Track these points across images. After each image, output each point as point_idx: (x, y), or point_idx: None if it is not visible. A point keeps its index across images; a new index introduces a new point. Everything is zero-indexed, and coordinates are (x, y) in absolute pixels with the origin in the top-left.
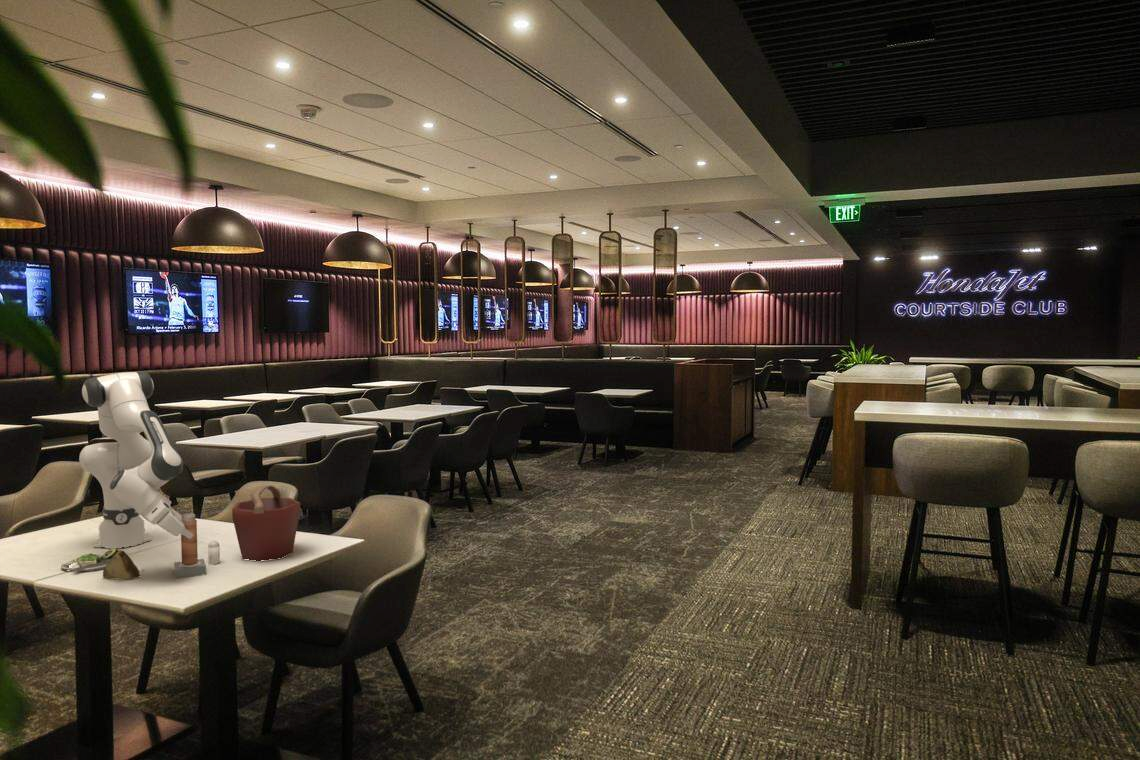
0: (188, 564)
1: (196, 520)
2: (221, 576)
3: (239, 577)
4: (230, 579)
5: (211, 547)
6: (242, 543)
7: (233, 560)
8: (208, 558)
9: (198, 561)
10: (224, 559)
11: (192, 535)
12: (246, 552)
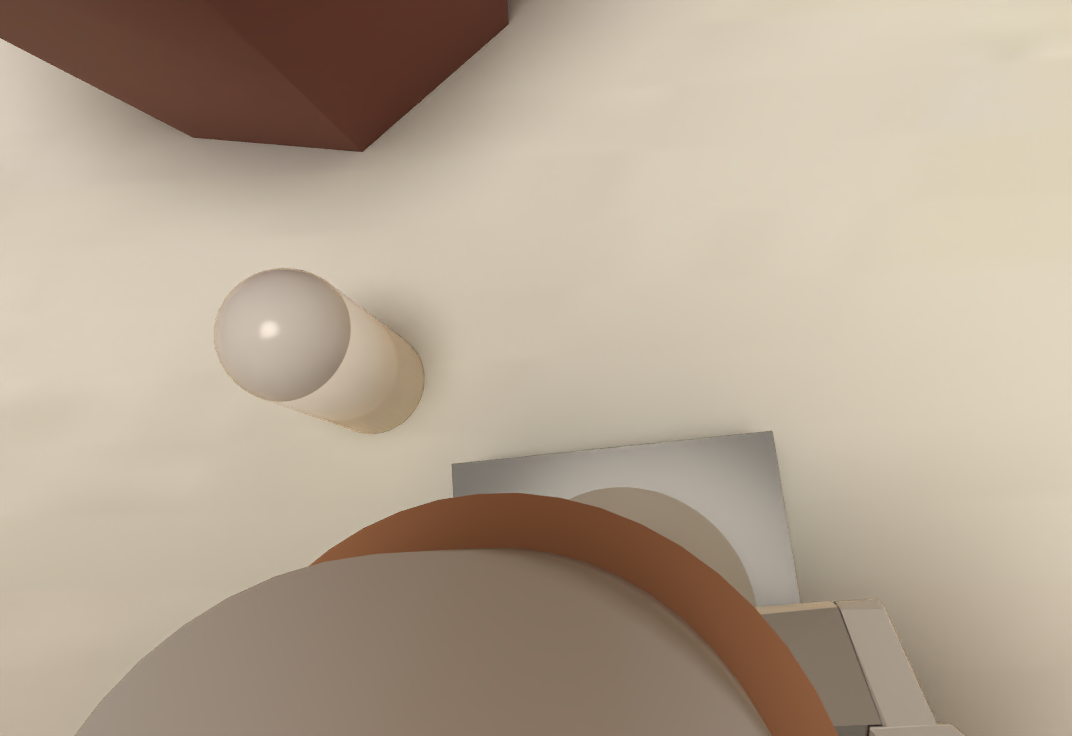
0: None
1: (544, 496)
2: (891, 297)
3: (991, 134)
4: (1040, 209)
5: (342, 358)
6: (333, 35)
7: (364, 221)
8: (357, 423)
9: None
10: None
11: (879, 619)
12: (393, 67)
